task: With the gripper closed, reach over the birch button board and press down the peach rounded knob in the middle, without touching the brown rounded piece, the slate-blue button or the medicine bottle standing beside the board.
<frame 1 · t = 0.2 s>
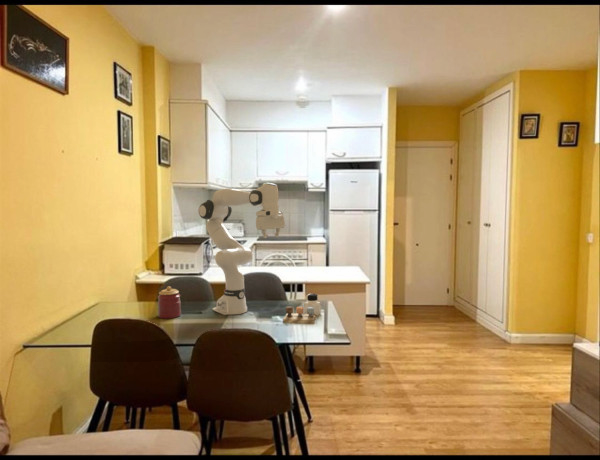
hand: (271, 237, 220), 47 cm above the table, fingers open, 8 cm apart
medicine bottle: (312, 314, 235), on the table
slate-blue button: (310, 312, 222), point 5 cm above the table, slide at 0.0 cm
peach rounded knob: (299, 312, 223), point 5 cm above the table, slide at 0.0 cm
button board: (300, 319, 224), on the table
canister: (169, 316, 235), on the table
brown rounded piece: (289, 311, 224), point 4 cm above the table, slide at 0.0 cm
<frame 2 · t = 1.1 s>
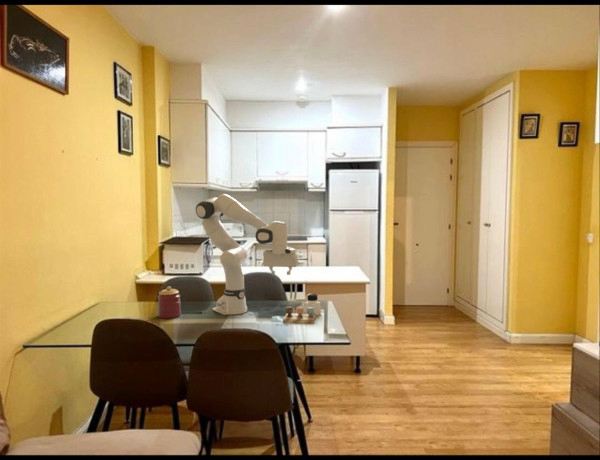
hand: (280, 274, 223), 26 cm above the table, fingers open, 8 cm apart
nothing on the table moved.
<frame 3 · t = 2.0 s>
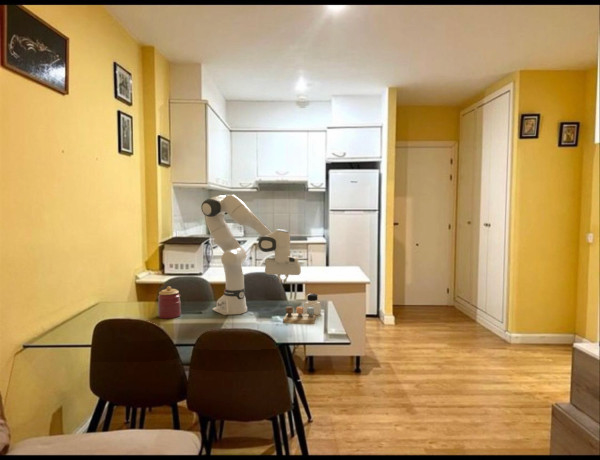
hand: (282, 282, 224), 21 cm above the table, fingers closed
nothing on the table moved.
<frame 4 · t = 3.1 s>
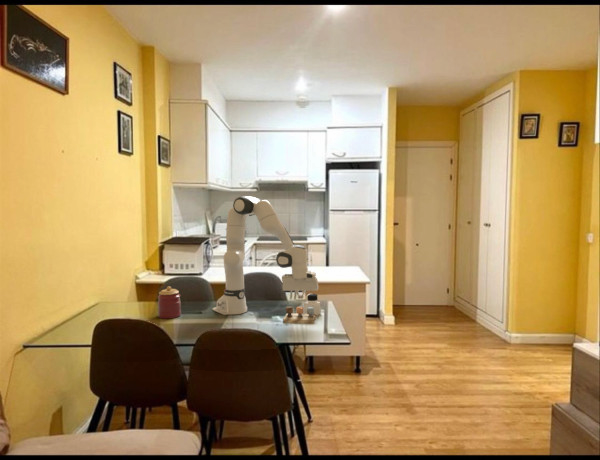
hand: (300, 298, 223), 12 cm above the table, fingers closed
nothing on the table moved.
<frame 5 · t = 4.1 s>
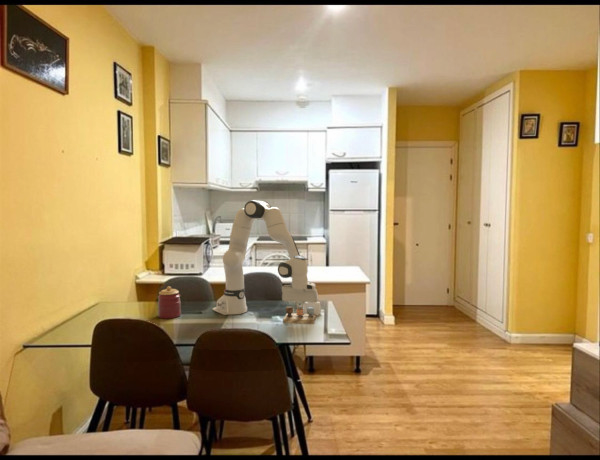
hand: (300, 309, 223), 6 cm above the table, fingers closed, pressing on peach rounded knob
peach rounded knob: (299, 313, 223), point 4 cm above the table, slide at -1.0 cm, touching gripper
everything else where it was.
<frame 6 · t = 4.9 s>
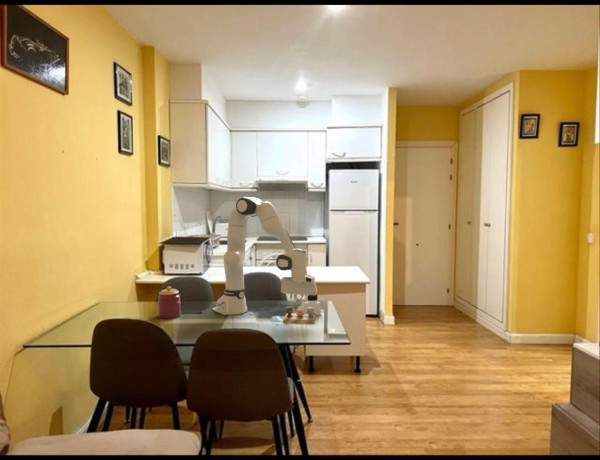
hand: (298, 301, 223), 10 cm above the table, fingers closed
peach rounded knob: (299, 313, 224), point 3 cm above the table, slide at -1.1 cm
everything else where it was.
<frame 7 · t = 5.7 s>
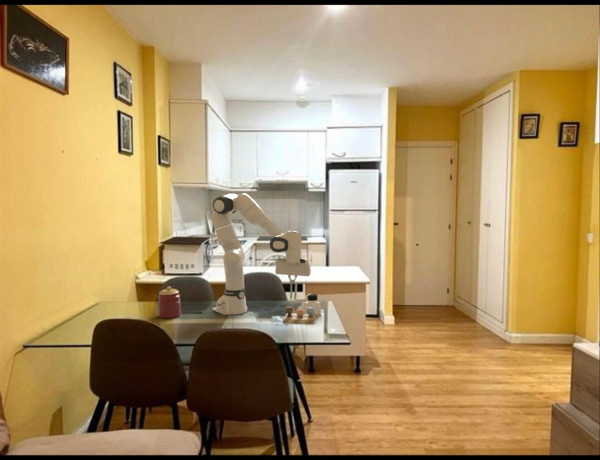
hand: (292, 282, 228), 20 cm above the table, fingers closed
nothing on the table moved.
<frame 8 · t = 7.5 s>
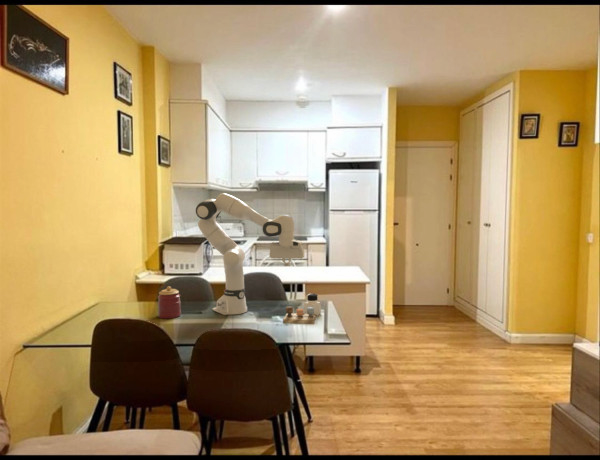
hand: (286, 265, 232), 29 cm above the table, fingers closed
nothing on the table moved.
at the end: peach rounded knob slide at -1.1 cm; brown rounded piece slide at 0.0 cm; slate-blue button slide at 0.0 cm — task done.
